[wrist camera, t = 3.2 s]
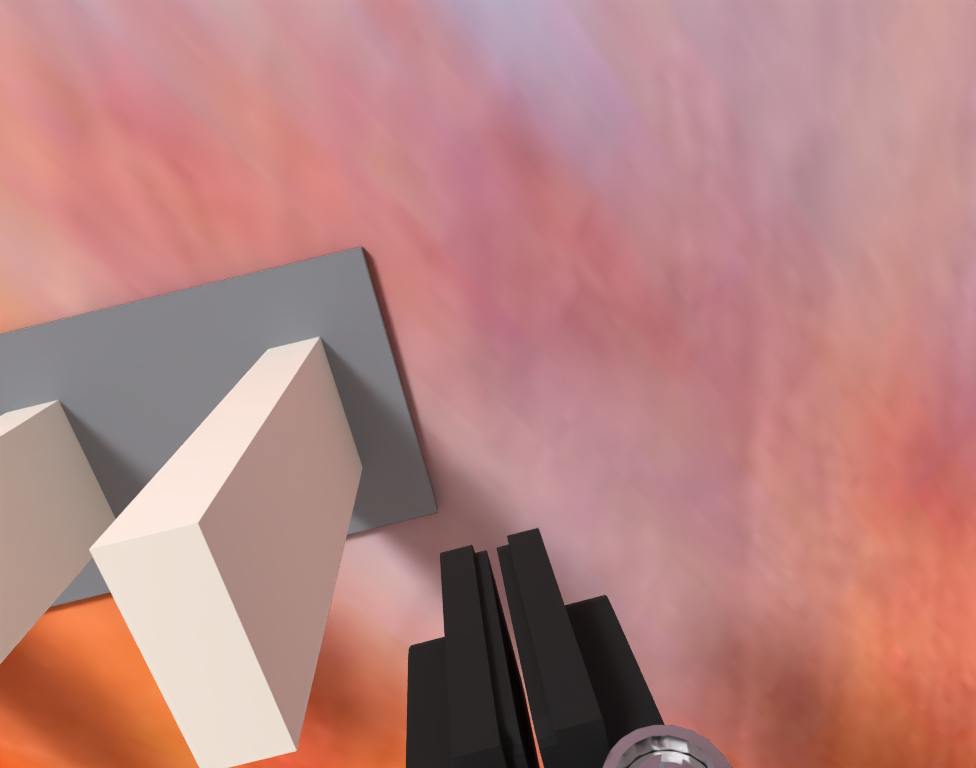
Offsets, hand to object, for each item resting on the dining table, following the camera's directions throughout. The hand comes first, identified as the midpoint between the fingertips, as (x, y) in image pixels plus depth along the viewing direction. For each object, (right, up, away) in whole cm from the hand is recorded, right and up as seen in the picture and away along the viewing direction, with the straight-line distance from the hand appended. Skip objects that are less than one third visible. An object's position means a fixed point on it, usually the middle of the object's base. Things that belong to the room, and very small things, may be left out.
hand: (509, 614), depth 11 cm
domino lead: (-6, +3, +12) cm, 14 cm away
